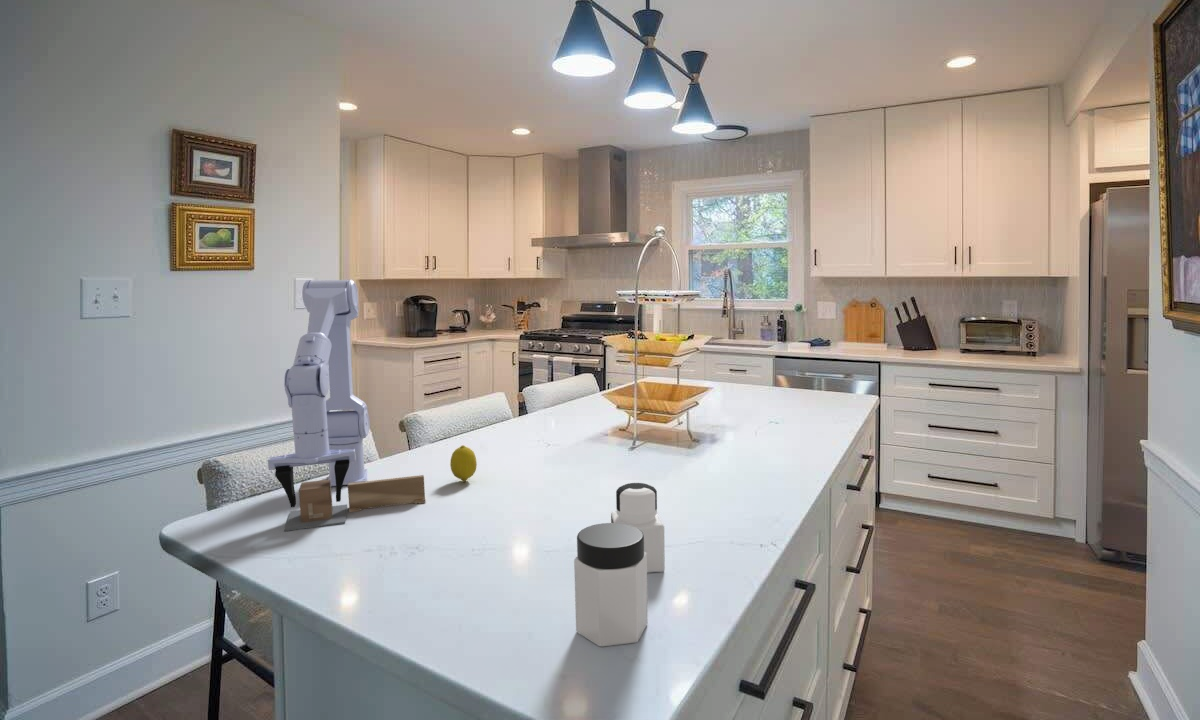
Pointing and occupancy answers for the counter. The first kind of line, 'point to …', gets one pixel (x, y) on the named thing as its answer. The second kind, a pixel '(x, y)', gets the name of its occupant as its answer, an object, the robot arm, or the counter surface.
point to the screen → (386, 492)
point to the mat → (336, 518)
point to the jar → (611, 584)
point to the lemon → (463, 463)
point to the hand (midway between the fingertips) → (316, 502)
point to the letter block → (315, 500)
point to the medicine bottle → (642, 520)
